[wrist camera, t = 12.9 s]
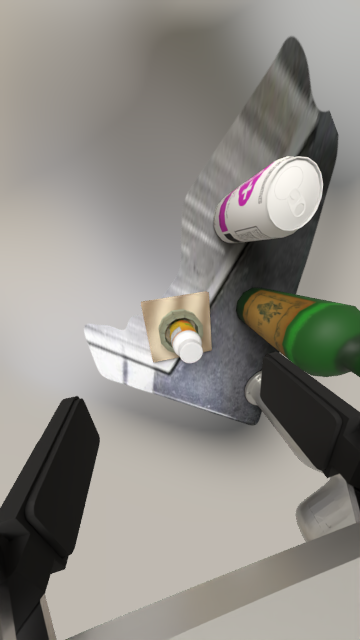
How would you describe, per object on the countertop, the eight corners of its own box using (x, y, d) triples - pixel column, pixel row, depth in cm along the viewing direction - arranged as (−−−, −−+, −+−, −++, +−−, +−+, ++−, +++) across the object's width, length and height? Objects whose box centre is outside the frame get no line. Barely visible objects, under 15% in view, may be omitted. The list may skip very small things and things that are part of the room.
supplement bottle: (197, 327, 38) (213, 350, 29) (181, 345, 39) (191, 372, 30) (179, 313, 36) (191, 332, 27) (163, 331, 37) (168, 356, 28)
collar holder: (206, 291, 37) (213, 295, 33) (209, 347, 42) (215, 356, 39) (141, 301, 35) (140, 307, 32) (152, 358, 40) (153, 369, 37)
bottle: (228, 289, 38) (404, 362, 12) (272, 276, 39) (521, 321, 13) (233, 331, 42) (372, 452, 16) (272, 319, 43) (462, 416, 17)
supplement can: (203, 216, 32) (248, 187, 18) (238, 183, 31) (313, 127, 17) (226, 252, 35) (280, 251, 21) (259, 223, 34) (336, 203, 20)
